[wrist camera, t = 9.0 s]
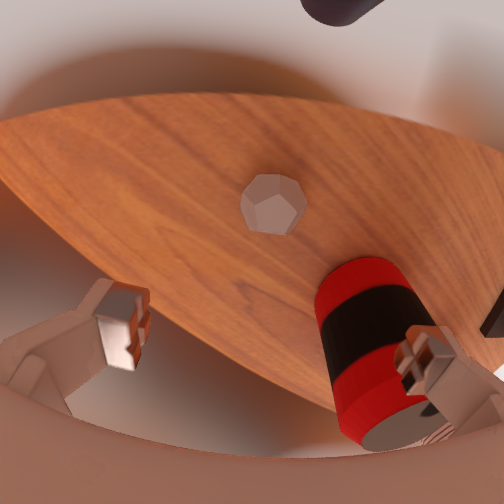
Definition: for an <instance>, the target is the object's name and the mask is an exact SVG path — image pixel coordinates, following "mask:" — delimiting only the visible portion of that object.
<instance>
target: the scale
mask: <svg viewBox="0 0 504 504" xmlns="http://www.w3.org/2000/svg"><path fill="white" fill-rule="evenodd" d="M480 331H481V332H482V334H483V335H484V337H485V338H501V337H504V290H503V291H502V293H501V295H500V297H499V299H498V300H497V302H496V304H495V306H494V307H493V309H492V311H491V312H490V314H489V316H488V317H487V319H486V321H485V322H484V324H483V325H482V327H481V328H480Z"/></svg>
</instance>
